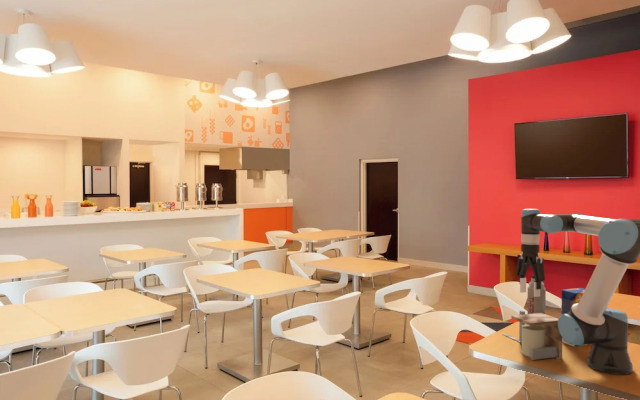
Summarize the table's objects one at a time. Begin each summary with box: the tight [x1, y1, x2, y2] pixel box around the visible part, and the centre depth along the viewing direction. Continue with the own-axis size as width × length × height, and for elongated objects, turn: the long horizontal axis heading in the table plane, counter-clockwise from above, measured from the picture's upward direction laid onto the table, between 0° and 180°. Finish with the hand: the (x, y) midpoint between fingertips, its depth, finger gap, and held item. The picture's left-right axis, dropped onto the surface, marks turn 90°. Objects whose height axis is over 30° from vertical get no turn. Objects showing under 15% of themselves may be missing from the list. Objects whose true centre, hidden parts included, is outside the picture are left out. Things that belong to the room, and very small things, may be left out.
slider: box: [518, 310, 558, 361], centre depth 201 cm, size 21×13×14 cm, turn 17°
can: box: [520, 324, 545, 358], centre depth 198 cm, size 9×9×12 cm
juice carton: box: [561, 287, 592, 348], centre depth 212 cm, size 12×8×24 cm, turn 110°
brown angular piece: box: [502, 313, 563, 360], centre depth 206 cm, size 34×16×16 cm, turn 17°
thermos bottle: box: [526, 275, 547, 314], centre depth 226 cm, size 8×8×28 cm
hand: (529, 294), depth 208 cm, fingers open, 8 cm apart
